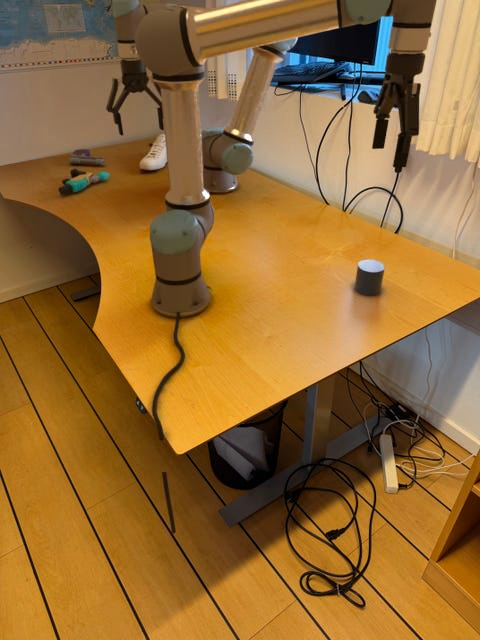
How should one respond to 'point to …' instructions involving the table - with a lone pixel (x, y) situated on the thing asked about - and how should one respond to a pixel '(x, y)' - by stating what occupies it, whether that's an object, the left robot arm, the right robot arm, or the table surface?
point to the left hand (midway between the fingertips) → (388, 157)
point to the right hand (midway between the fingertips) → (141, 131)
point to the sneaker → (155, 155)
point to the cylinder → (369, 277)
